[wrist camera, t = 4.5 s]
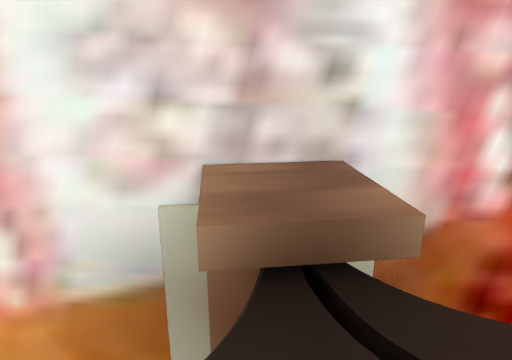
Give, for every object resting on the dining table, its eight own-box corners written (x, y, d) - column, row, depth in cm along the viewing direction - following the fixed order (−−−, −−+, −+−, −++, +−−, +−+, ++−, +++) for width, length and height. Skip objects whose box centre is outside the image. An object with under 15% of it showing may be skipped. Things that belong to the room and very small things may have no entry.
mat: (378, 196, 13) (380, 197, 13) (353, 437, 16) (355, 441, 16) (158, 205, 12) (157, 207, 12) (180, 459, 16) (180, 463, 15)
